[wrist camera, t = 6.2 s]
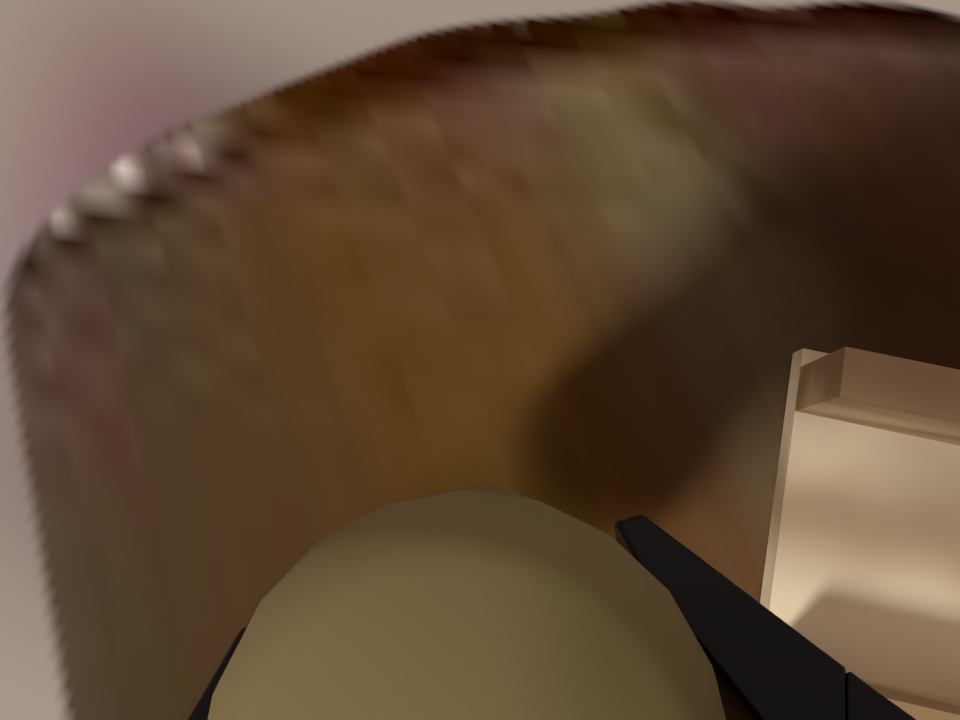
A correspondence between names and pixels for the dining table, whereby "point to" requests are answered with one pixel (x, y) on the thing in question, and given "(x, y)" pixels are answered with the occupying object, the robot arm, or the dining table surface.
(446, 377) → the dining table surface
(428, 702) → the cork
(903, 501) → the cradle
